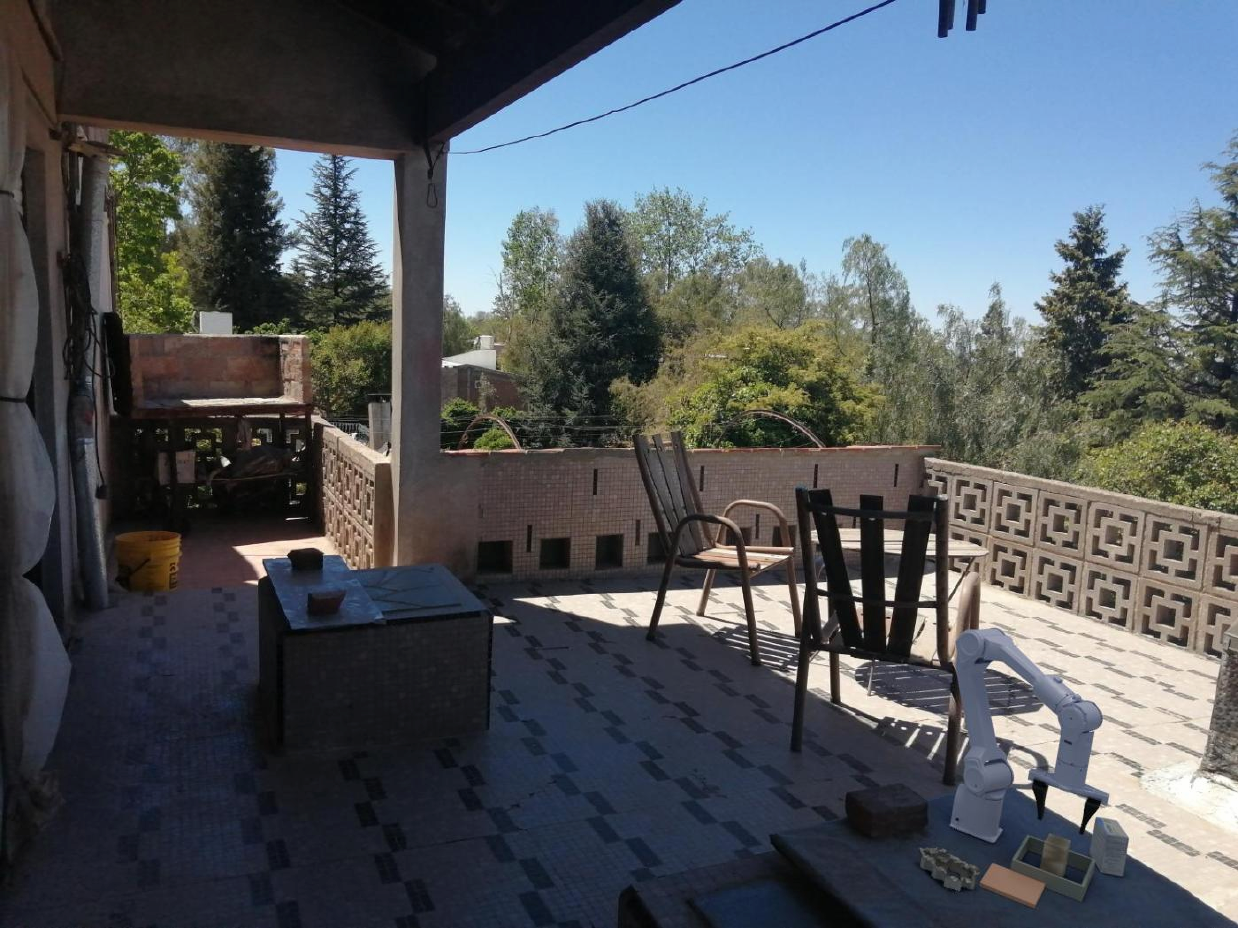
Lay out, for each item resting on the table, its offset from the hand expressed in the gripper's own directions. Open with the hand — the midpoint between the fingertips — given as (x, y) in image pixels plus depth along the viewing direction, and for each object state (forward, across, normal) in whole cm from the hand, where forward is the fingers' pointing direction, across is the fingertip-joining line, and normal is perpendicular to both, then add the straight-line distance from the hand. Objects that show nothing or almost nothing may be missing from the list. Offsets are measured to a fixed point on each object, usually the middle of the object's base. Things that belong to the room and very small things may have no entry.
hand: (1060, 825), depth 185 cm
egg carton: (+11, -16, -18) cm, 26 cm away
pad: (+10, -5, -12) cm, 17 cm away
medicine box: (+11, +8, +13) cm, 19 cm away
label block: (+10, 0, 0) cm, 10 cm away
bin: (+10, 0, 0) cm, 10 cm away
